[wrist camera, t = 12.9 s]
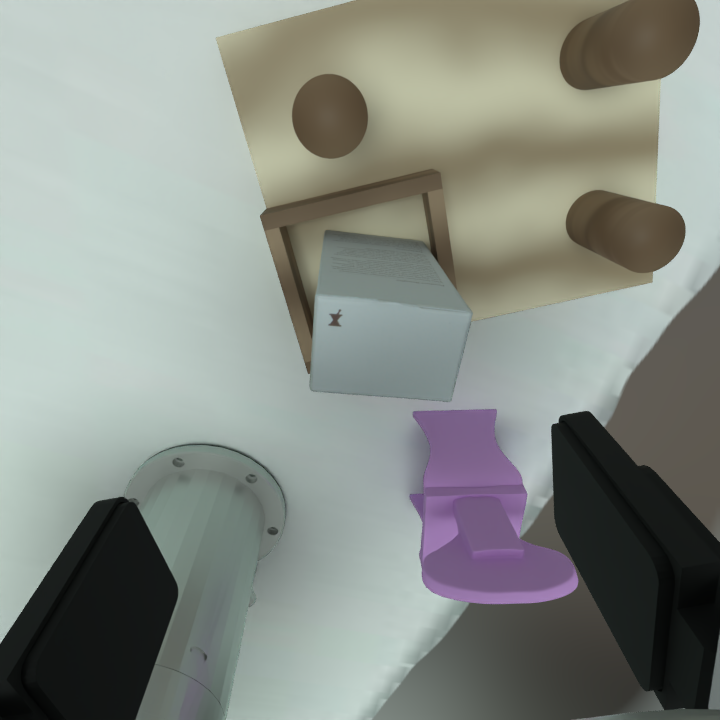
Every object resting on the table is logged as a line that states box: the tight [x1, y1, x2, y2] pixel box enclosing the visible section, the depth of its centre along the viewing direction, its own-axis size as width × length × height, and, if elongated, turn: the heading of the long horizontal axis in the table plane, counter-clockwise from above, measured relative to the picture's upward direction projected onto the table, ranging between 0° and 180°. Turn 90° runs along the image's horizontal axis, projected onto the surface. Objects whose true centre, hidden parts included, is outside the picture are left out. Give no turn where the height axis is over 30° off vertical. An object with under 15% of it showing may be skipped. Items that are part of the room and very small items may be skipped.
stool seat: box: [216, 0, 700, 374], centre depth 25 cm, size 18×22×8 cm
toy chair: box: [410, 409, 578, 604], centre depth 32 cm, size 8×9×15 cm
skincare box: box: [310, 230, 473, 402], centre depth 24 cm, size 6×4×12 cm
